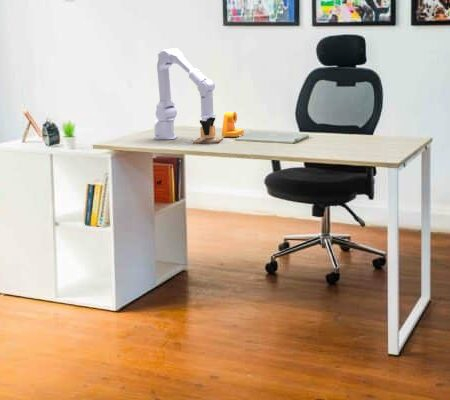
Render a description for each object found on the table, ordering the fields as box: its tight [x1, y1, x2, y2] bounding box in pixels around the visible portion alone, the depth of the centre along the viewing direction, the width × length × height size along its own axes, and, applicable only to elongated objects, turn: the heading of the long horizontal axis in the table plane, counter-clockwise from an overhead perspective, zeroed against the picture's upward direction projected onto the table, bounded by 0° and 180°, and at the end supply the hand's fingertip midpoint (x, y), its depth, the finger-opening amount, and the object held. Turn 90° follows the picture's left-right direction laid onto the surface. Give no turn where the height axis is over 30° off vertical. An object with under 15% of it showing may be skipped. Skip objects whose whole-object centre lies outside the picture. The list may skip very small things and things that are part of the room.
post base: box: [193, 136, 224, 145], centre depth 449 cm, size 12×12×1 cm
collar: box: [200, 125, 216, 138], centre depth 448 cm, size 6×6×5 cm
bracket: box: [221, 111, 245, 138], centre depth 462 cm, size 11×7×12 cm, turn 154°
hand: (208, 133), depth 449 cm, fingers closed on collar, 6 cm apart
